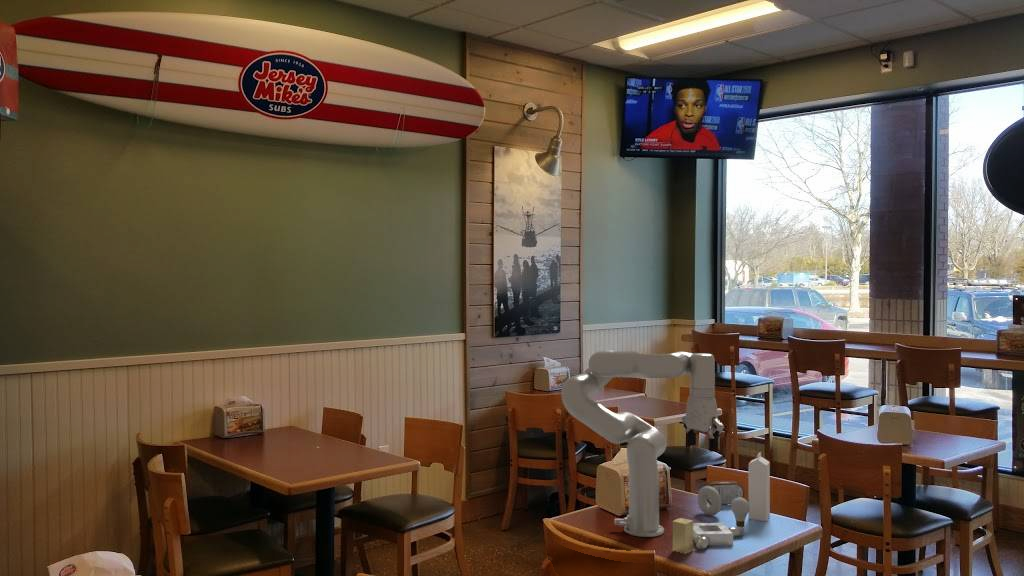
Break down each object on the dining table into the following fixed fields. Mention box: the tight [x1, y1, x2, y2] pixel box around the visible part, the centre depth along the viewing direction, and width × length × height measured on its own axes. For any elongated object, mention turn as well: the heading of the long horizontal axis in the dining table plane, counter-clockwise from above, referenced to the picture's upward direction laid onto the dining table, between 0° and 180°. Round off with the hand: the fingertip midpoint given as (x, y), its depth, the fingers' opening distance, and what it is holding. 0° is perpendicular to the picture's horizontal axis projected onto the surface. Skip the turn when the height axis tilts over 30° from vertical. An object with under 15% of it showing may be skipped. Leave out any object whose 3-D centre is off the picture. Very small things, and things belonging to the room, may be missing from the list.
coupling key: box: [672, 517, 694, 555], centre depth 237 cm, size 4×4×9 cm
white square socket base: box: [693, 522, 734, 546], centre depth 248 cm, size 11×11×4 cm
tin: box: [705, 480, 745, 506], centre depth 287 cm, size 15×3×8 cm, turn 98°
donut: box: [696, 485, 722, 517], centre depth 274 cm, size 10×3×10 cm, turn 31°
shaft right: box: [727, 526, 745, 538], centre depth 250 cm, size 6×3×3 cm, turn 107°
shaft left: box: [695, 536, 711, 551], centre depth 241 cm, size 6×3×3 cm, turn 152°
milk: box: [747, 452, 771, 522], centre depth 270 cm, size 6×6×22 cm
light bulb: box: [730, 497, 750, 529], centre depth 259 cm, size 6×6×10 cm
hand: (702, 448), depth 247 cm, fingers open, 9 cm apart
